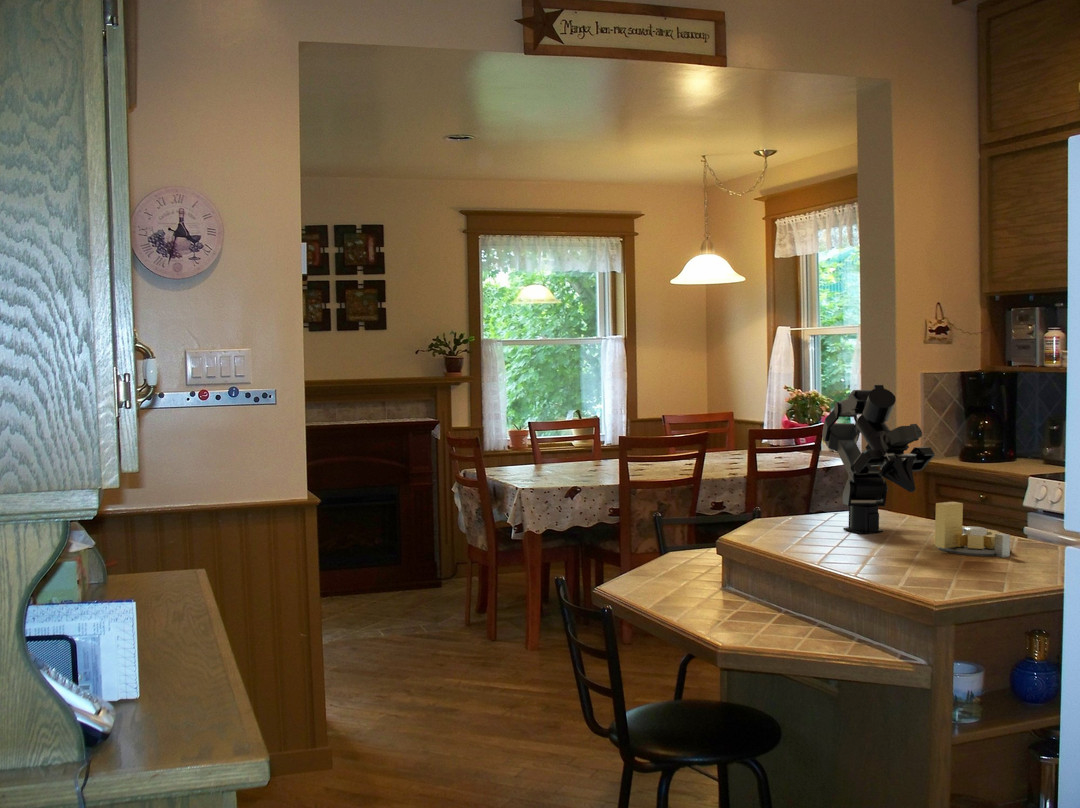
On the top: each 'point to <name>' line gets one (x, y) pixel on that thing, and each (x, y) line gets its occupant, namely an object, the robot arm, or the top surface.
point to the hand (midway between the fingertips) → (913, 491)
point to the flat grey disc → (1000, 547)
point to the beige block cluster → (957, 529)
